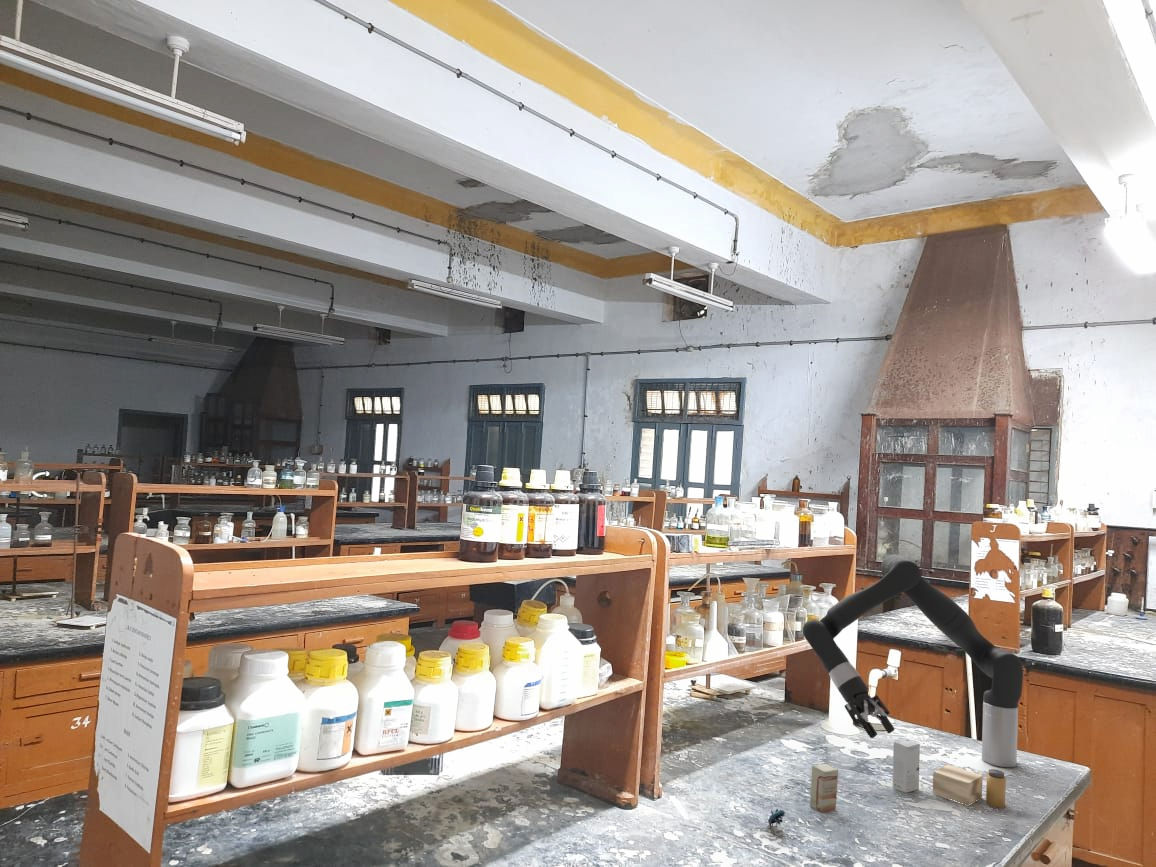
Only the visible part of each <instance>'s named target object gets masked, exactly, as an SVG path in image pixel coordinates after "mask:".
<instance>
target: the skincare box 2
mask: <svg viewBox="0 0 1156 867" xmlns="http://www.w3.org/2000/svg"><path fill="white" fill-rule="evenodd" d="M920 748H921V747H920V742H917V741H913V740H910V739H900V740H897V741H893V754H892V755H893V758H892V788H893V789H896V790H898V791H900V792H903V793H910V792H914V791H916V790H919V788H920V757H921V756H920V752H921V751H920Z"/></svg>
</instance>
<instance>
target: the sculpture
mask: <svg viewBox="0 0 1156 867" xmlns="http://www.w3.org/2000/svg"><path fill="white" fill-rule="evenodd" d="M770 812H771V815H770V816H769V817H768V819H767V822H768V825H766V828H765V829H766V830H767V831H768V832H769V833H773V834H774V835H775V836H777V837H780V838H782V837H784V836H785V832H784V829H783V828H782V827H780V826H779V825H781V823H783V819H784V816H785V813H786V811H785V810H784V809H783V808H781V809H778V808H776V809H775V811H773V810H771V811H770ZM774 824H775V825H774ZM783 835H784V836H783Z"/></svg>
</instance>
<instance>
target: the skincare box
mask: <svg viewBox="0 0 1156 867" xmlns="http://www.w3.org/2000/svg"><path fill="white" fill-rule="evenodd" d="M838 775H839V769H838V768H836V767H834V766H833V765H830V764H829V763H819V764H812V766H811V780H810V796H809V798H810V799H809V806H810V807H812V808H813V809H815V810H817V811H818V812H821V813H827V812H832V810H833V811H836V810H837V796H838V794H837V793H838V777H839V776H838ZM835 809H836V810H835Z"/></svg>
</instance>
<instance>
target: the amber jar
mask: <svg viewBox="0 0 1156 867" xmlns="http://www.w3.org/2000/svg"><path fill="white" fill-rule="evenodd" d="M985 788H986V791H985V792H986V796H985V803H986V802H987V803H986V804H987V805H989V806H991V807H993V808H999V809H1000V808H1002V809H1003V808H1005V807H1006V798H1007V797H1006V796H1007V794H1006V790H1007V777H1006V775H1005V772H1004V771H1002V770H1000V769H993V768H991V769H988V772H987V773H986V787H985Z"/></svg>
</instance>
